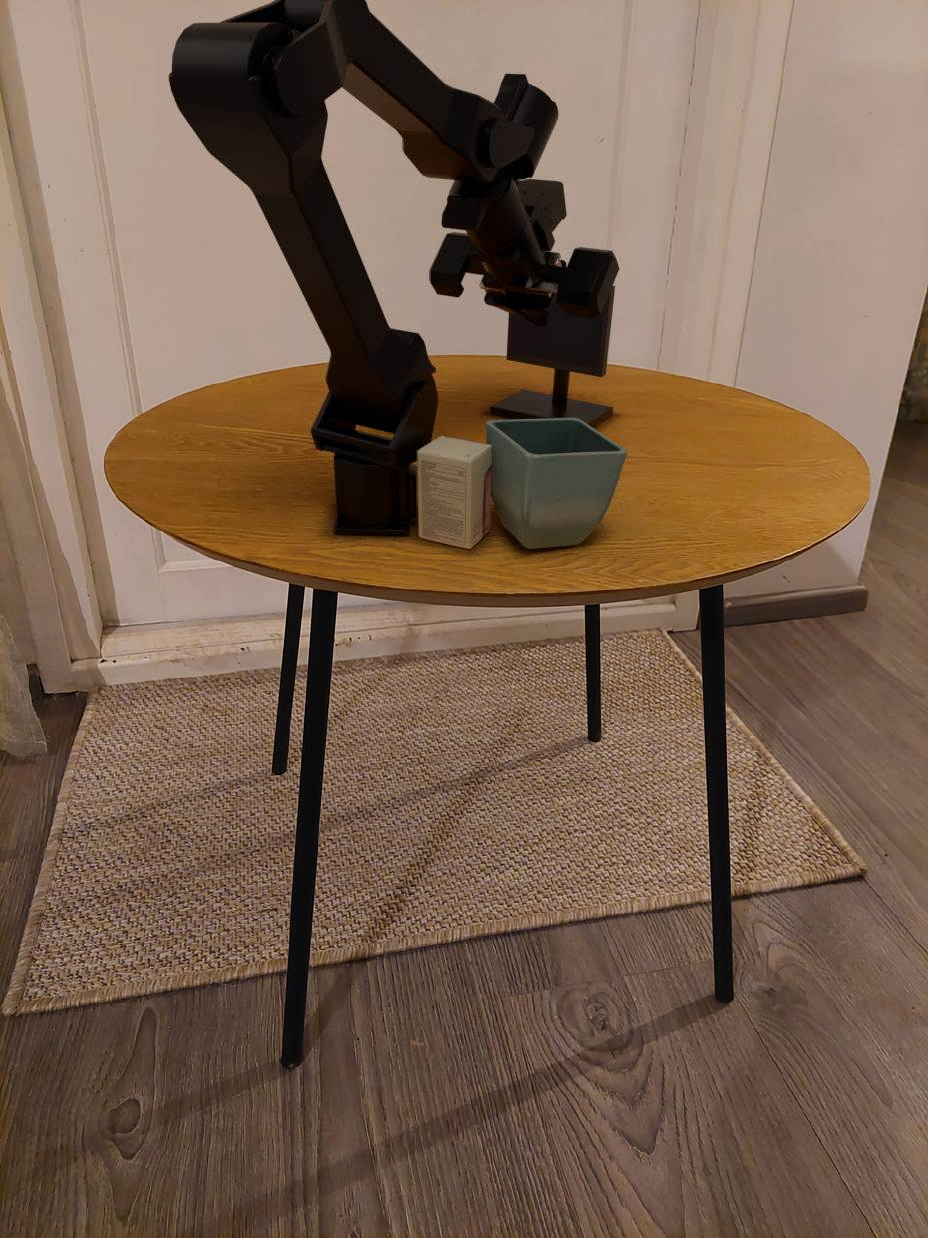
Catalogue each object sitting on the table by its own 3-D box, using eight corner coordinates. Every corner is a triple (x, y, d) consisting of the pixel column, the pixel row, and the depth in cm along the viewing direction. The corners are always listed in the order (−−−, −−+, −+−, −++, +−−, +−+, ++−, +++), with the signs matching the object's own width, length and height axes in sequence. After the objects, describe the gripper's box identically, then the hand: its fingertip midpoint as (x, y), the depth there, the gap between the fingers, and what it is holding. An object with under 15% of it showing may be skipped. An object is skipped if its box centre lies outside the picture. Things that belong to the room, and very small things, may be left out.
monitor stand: (584, 434, 100) (590, 368, 96) (489, 414, 105) (492, 350, 101) (612, 415, 106) (619, 352, 102) (521, 396, 111) (525, 336, 107)
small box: (491, 531, 78) (495, 443, 74) (469, 551, 75) (472, 461, 71) (439, 519, 80) (440, 433, 76) (416, 538, 77) (415, 449, 72)
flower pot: (563, 512, 82) (578, 415, 78) (611, 554, 75) (630, 450, 71) (474, 519, 79) (484, 419, 75) (515, 564, 72) (529, 456, 68)
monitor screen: (601, 377, 99) (610, 287, 95) (505, 360, 105) (509, 273, 100) (606, 375, 100) (615, 285, 95) (511, 357, 106) (515, 271, 101)
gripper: (623, 155, 80) (652, 268, 94) (444, 143, 88) (495, 249, 102) (577, 262, 78) (614, 361, 92) (399, 240, 86) (457, 334, 100)
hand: (543, 322), depth 97 cm, fingers closed
